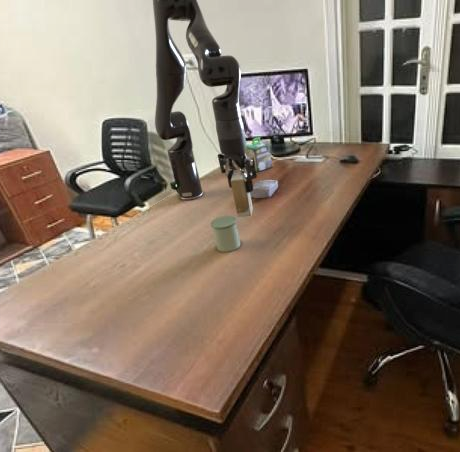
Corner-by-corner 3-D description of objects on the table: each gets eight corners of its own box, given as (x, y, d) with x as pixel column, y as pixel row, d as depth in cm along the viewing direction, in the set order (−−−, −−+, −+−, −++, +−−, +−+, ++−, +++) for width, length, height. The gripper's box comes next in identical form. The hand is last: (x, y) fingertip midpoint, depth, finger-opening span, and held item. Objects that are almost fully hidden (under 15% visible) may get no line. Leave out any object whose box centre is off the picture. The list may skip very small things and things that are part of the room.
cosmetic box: (239, 209, 112) (232, 173, 107) (253, 207, 113) (246, 171, 107) (237, 218, 107) (229, 180, 101) (251, 216, 107) (245, 178, 101)
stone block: (248, 202, 139) (271, 197, 136) (244, 190, 137) (267, 186, 134) (259, 191, 149) (280, 187, 146) (255, 180, 147) (277, 176, 144)
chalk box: (261, 163, 176) (257, 134, 170) (272, 166, 171) (268, 136, 164) (246, 168, 171) (241, 138, 164) (257, 172, 165) (253, 141, 158)
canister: (211, 247, 106) (205, 223, 102) (230, 237, 111) (225, 213, 107) (226, 254, 102) (221, 229, 98) (246, 243, 107) (241, 219, 103)
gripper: (258, 134, 96) (266, 189, 104) (226, 129, 105) (235, 181, 113) (237, 141, 91) (247, 198, 99) (204, 135, 100) (216, 189, 108)
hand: (241, 189), depth 106 cm, fingers closed on cosmetic box, 7 cm apart
